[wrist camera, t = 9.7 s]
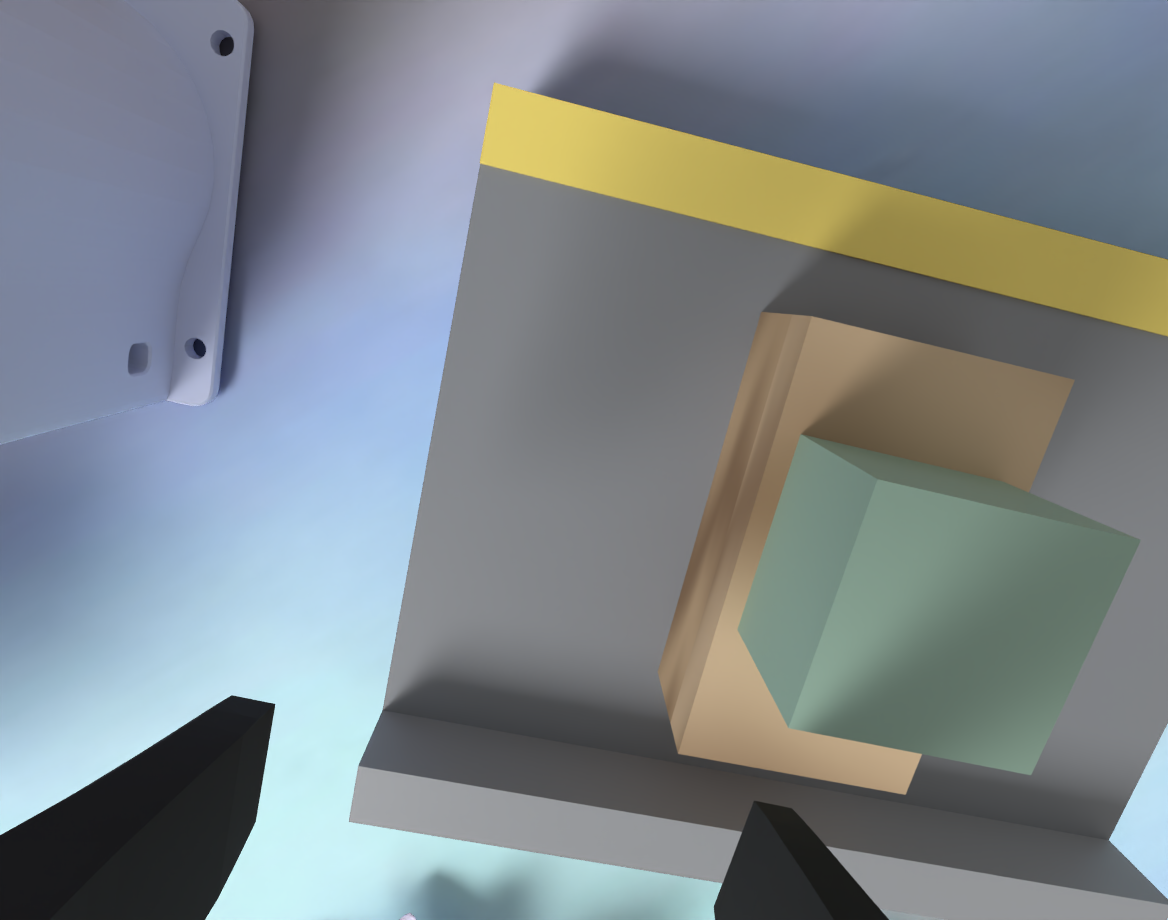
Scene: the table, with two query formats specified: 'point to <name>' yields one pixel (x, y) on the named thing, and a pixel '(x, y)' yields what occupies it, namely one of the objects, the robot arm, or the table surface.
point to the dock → (678, 498)
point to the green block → (926, 605)
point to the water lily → (408, 917)
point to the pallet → (754, 485)
